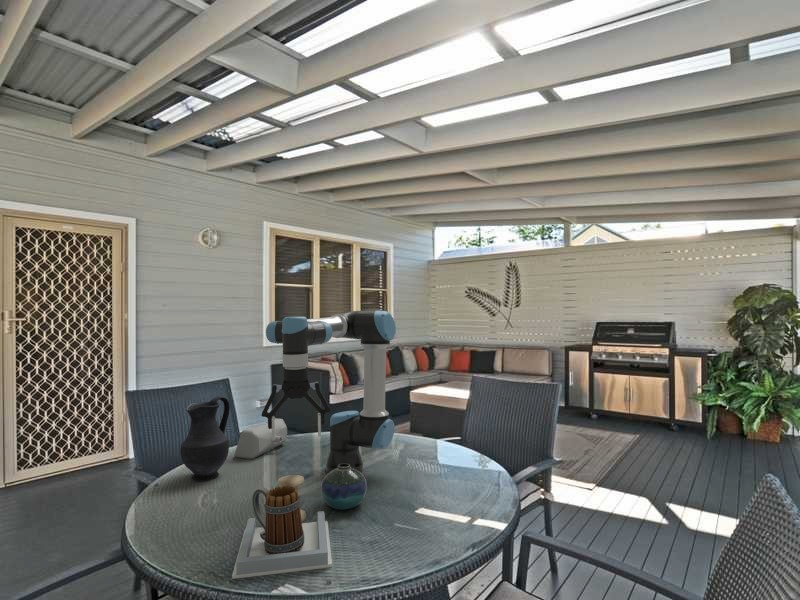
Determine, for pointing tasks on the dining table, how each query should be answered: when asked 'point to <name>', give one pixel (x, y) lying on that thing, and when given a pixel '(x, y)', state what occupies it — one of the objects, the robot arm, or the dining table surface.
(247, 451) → the tank
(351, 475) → the vase
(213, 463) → the pitcher
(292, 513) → the mug
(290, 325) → the robot arm
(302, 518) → the bobbin
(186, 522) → the dining table surface
